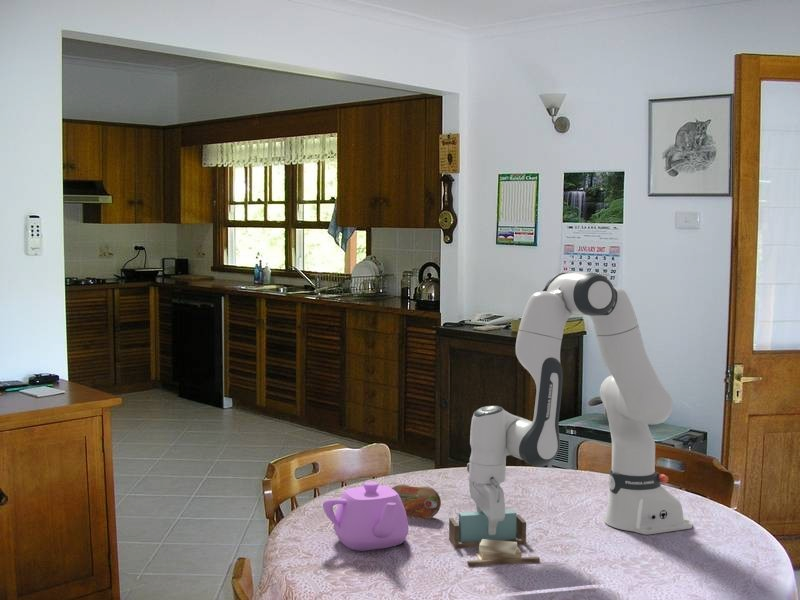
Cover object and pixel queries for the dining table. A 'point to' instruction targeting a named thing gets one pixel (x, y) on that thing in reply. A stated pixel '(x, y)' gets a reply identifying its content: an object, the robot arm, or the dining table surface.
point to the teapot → (368, 517)
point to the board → (485, 527)
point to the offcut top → (498, 546)
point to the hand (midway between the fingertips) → (486, 527)
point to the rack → (519, 535)
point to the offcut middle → (499, 555)
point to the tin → (419, 500)
